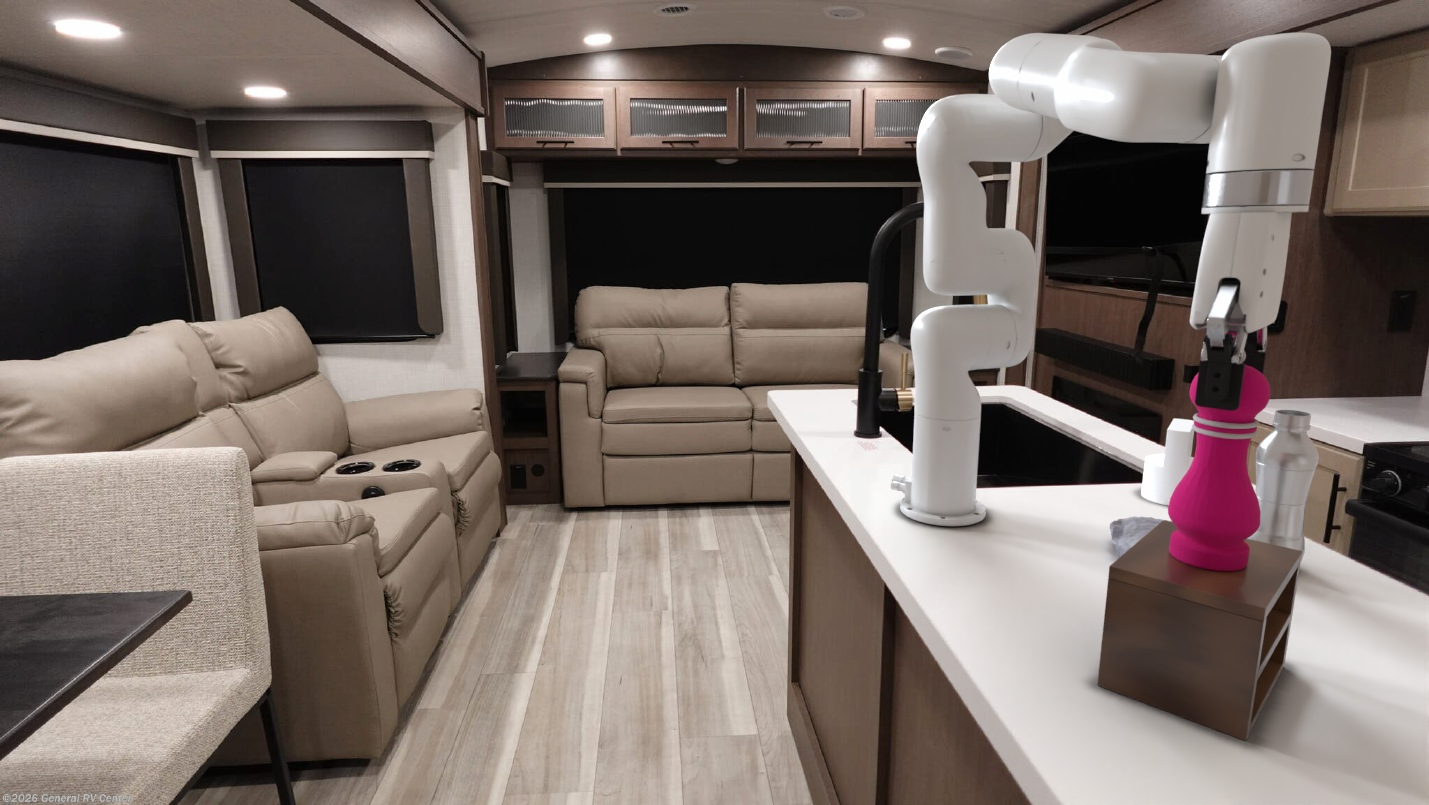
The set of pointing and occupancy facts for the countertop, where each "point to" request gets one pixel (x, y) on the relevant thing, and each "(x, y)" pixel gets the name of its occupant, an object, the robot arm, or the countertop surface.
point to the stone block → (1131, 531)
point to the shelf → (1198, 631)
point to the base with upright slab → (1169, 463)
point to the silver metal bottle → (1285, 480)
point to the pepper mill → (1219, 483)
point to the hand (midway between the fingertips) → (1228, 399)
